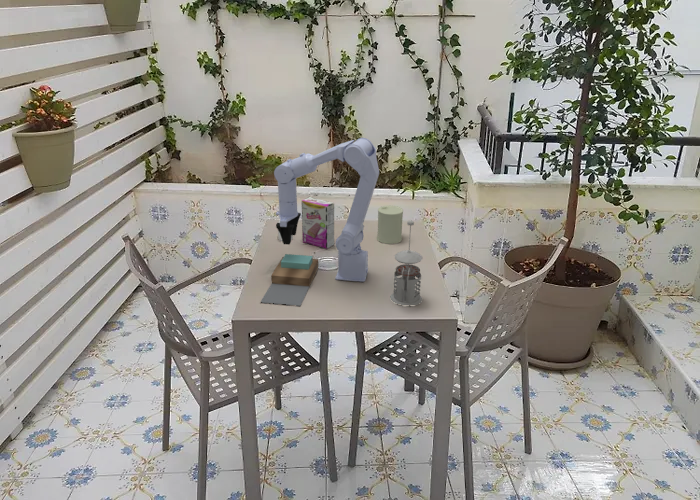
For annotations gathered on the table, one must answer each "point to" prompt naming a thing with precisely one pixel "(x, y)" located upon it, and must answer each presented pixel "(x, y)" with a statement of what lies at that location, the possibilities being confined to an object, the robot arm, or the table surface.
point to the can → (390, 224)
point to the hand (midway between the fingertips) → (289, 239)
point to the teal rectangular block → (296, 261)
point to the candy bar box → (318, 222)
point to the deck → (294, 275)
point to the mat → (285, 294)
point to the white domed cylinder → (280, 235)
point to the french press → (407, 277)
